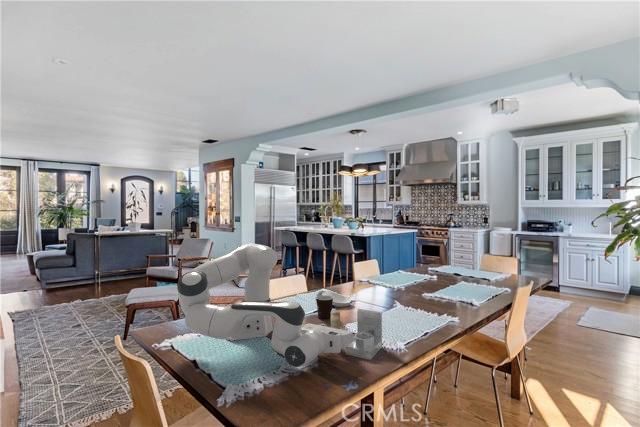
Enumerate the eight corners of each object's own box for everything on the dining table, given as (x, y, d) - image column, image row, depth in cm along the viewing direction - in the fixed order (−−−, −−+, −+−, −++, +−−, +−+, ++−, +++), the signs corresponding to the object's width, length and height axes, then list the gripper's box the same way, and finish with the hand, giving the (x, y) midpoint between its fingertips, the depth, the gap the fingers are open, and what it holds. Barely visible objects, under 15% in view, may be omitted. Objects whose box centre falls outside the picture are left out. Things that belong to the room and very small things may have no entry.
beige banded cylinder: (334, 349, 133) (334, 314, 133) (329, 346, 136) (329, 311, 136) (341, 347, 135) (341, 312, 135) (336, 344, 138) (336, 310, 138)
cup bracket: (370, 360, 124) (370, 321, 124) (345, 354, 129) (345, 317, 129) (382, 347, 135) (382, 312, 135) (358, 342, 140) (358, 308, 140)
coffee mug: (331, 320, 167) (331, 300, 166) (314, 319, 168) (314, 299, 168) (335, 313, 178) (335, 294, 178) (319, 312, 180) (319, 293, 179)
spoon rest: (355, 306, 192) (355, 293, 192) (341, 310, 183) (341, 297, 183) (324, 298, 208) (324, 286, 208) (310, 302, 200) (310, 290, 199)
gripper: (294, 342, 128) (312, 330, 140) (343, 354, 118) (358, 340, 130) (294, 326, 128) (312, 315, 140) (343, 336, 118) (358, 323, 130)
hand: (335, 327), depth 135 cm, fingers open, 8 cm apart
